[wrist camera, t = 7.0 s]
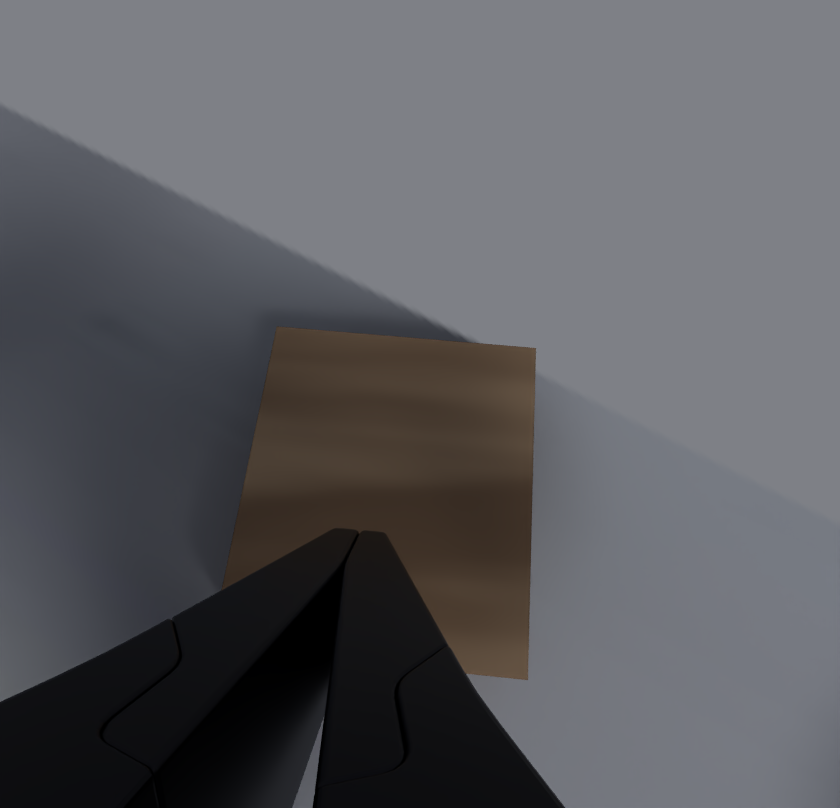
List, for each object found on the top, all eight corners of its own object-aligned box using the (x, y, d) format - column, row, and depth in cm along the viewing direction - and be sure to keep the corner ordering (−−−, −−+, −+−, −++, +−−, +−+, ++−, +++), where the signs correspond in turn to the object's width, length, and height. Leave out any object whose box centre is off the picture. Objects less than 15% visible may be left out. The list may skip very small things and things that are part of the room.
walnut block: (528, 680, 12) (535, 348, 15) (209, 646, 12) (276, 326, 15) (507, 667, 15) (517, 391, 18) (249, 640, 15) (299, 372, 18)
